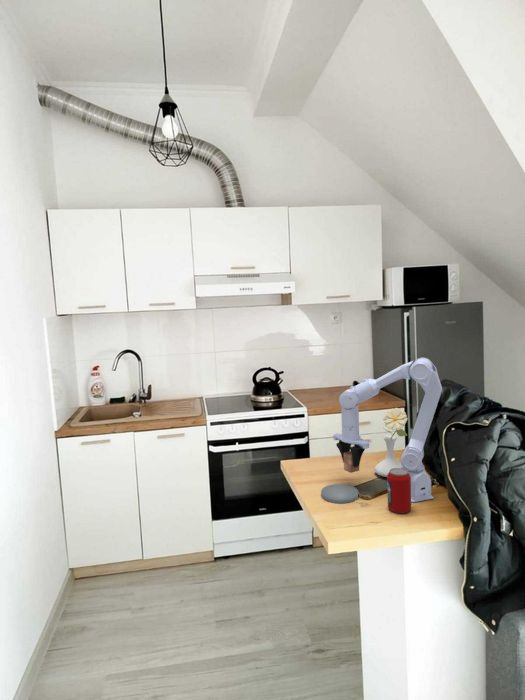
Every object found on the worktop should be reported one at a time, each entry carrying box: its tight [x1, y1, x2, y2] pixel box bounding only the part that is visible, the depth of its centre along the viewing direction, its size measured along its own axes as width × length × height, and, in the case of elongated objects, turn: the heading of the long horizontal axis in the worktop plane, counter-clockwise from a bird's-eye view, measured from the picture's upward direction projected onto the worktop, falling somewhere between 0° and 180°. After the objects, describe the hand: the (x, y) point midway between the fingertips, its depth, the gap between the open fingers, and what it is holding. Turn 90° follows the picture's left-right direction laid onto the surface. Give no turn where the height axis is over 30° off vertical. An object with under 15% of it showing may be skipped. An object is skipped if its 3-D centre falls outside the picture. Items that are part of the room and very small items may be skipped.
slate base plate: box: [320, 483, 360, 504], centre depth 155 cm, size 12×12×2 cm
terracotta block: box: [343, 450, 360, 474], centre depth 161 cm, size 4×4×6 cm
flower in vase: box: [374, 407, 408, 478], centre depth 170 cm, size 13×11×25 cm
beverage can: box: [386, 468, 412, 514], centre depth 143 cm, size 7×7×12 cm
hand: (351, 464), depth 161 cm, fingers closed on terracotta block, 4 cm apart
